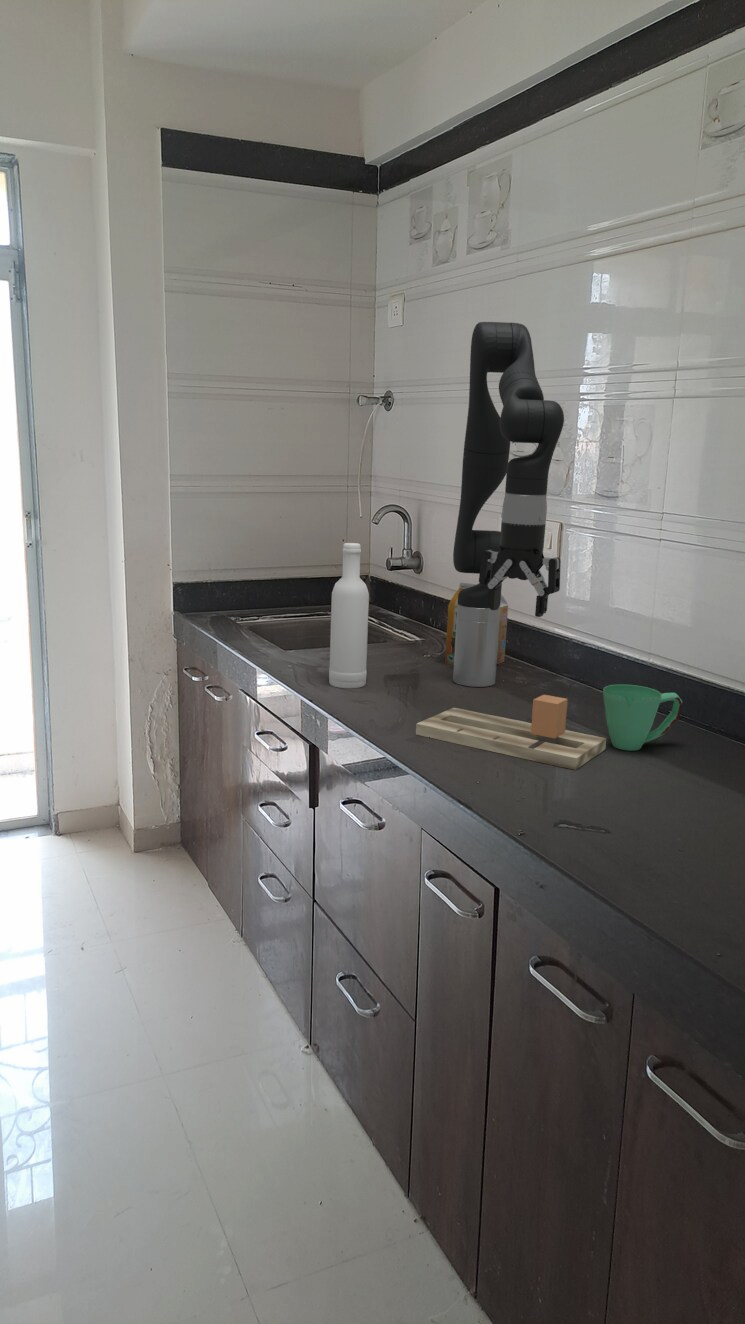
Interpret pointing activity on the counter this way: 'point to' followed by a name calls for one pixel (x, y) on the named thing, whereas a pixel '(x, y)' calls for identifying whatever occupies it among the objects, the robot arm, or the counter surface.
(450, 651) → the milk carton
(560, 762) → the board
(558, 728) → the fader knob
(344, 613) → the bottle
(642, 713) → the mug
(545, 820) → the counter surface
